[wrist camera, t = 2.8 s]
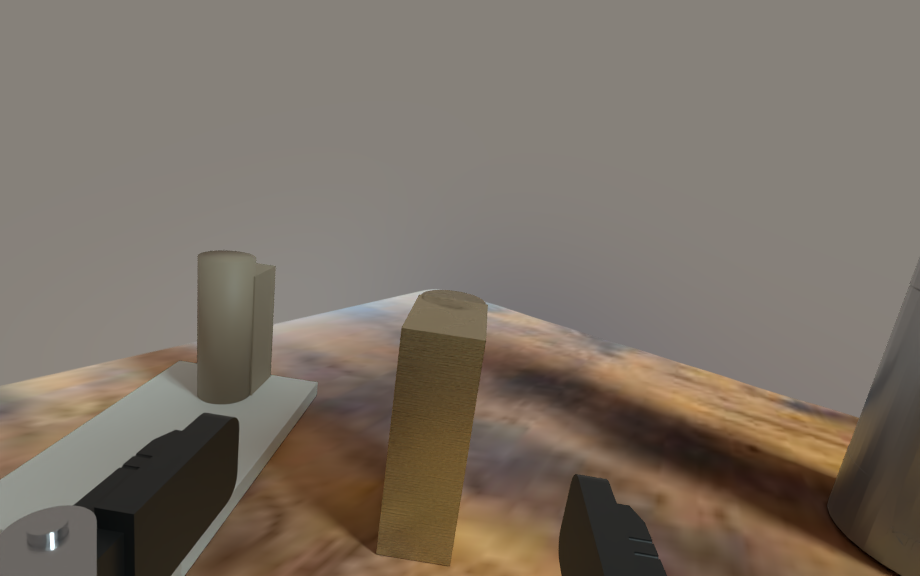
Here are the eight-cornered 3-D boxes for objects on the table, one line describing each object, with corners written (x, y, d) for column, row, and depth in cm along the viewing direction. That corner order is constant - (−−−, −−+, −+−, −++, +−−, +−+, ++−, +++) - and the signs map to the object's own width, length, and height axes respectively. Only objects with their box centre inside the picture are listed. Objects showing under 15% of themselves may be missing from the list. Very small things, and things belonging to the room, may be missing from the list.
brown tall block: (449, 565, 24) (485, 340, 21) (376, 553, 24) (401, 327, 21) (459, 477, 30) (488, 296, 27) (401, 468, 30) (423, 286, 27)
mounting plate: (181, 580, 21) (180, 350, 18) (-57, 539, 21) (-91, 308, 19) (316, 395, 37) (326, 258, 34) (179, 373, 37) (178, 236, 35)
